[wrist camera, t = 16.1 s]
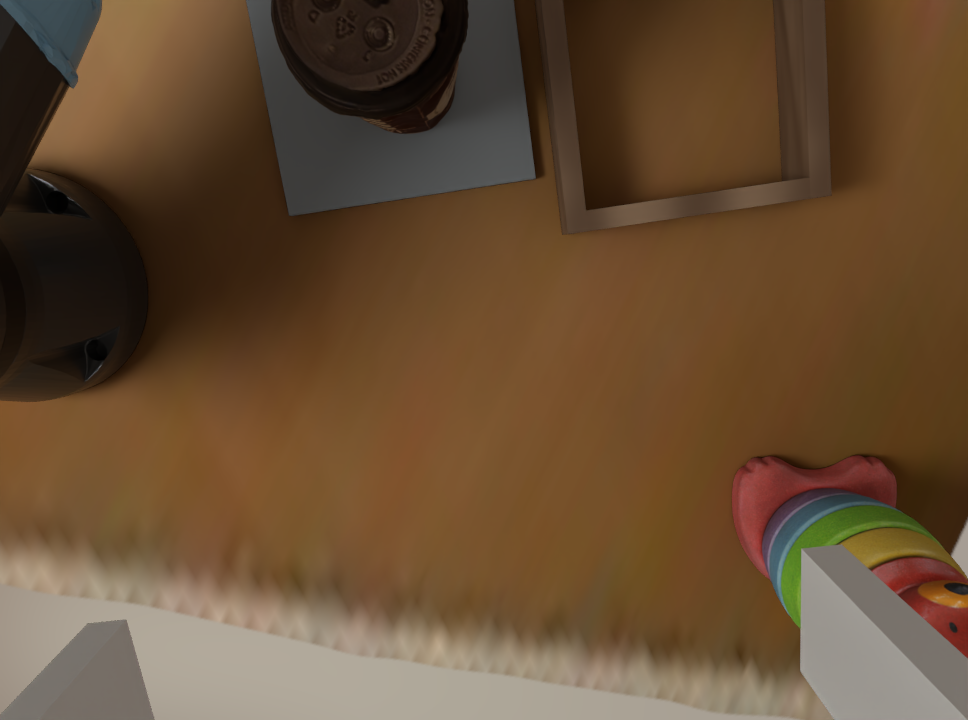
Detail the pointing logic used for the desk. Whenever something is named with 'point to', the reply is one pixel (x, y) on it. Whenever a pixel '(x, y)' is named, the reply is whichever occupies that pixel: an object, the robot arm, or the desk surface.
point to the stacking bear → (846, 535)
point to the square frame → (801, 179)
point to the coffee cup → (375, 56)
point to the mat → (402, 157)
